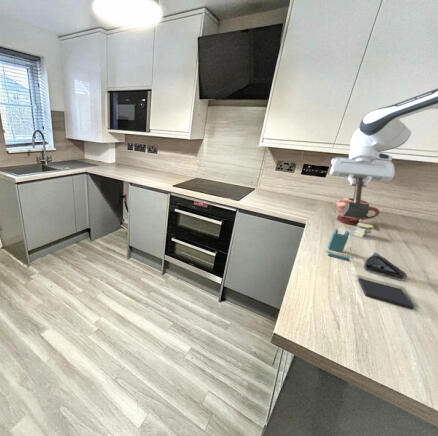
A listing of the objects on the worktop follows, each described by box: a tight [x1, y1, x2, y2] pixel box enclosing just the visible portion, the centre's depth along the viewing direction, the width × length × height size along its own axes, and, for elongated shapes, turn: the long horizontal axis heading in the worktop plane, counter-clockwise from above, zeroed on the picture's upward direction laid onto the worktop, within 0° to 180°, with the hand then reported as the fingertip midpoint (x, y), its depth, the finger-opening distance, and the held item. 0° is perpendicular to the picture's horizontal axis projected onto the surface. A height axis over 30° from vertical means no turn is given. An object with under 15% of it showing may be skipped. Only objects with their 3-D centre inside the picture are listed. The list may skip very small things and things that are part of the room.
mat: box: [357, 277, 415, 310], centre depth 76 cm, size 11×10×1 cm
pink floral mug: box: [334, 197, 380, 226], centre depth 137 cm, size 20×12×14 cm, turn 47°
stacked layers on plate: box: [348, 222, 376, 241], centre depth 121 cm, size 10×9×6 cm
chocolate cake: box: [363, 252, 408, 282], centre depth 90 cm, size 10×7×12 cm
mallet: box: [343, 177, 370, 220], centre depth 93 cm, size 6×14×14 cm, turn 150°
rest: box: [327, 228, 350, 261], centre depth 100 cm, size 7×10×9 cm
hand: (358, 185), depth 95 cm, fingers closed on mallet, 2 cm apart
